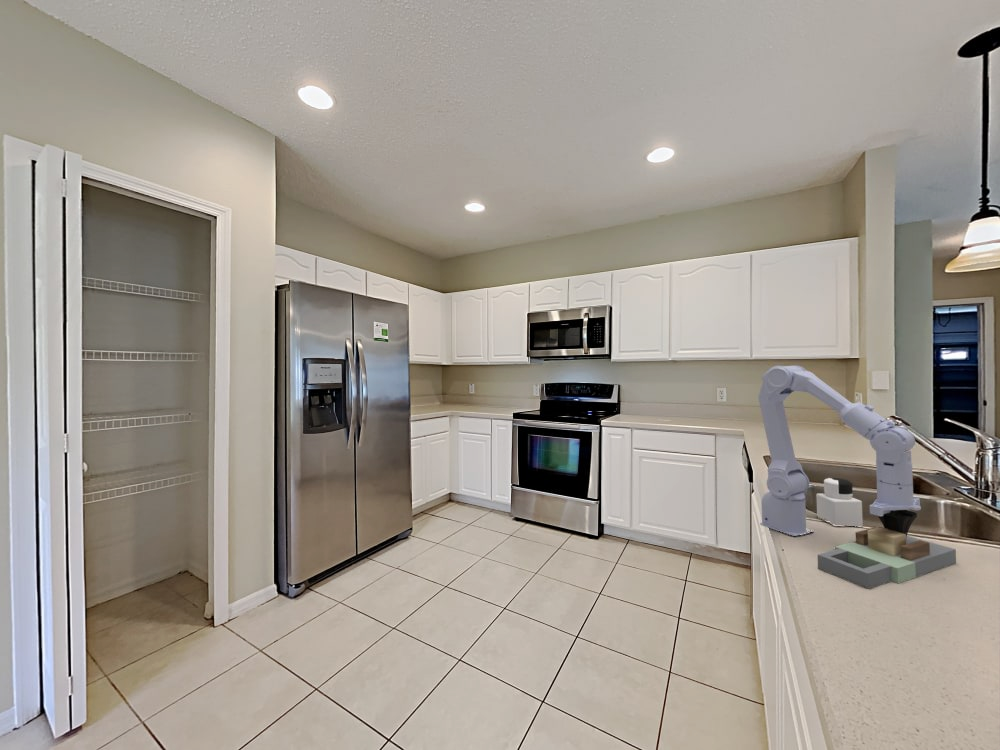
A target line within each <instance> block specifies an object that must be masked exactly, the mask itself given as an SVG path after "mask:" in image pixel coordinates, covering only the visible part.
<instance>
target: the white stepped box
mask: <svg viewBox="0 0 1000 750" xmlns="http://www.w3.org/2000/svg"><path fill="white" fill-rule="evenodd" d="M853 490H854V489H853V483H852V482H851V481H849V480H848V479H844V478H840V477H838V478H837V477H828V478H825V479H823V491H824V493H816V517H817V516H819V517H820V518H823V519H824V518H825V519H827V520H828V521H830V522H831V523H833V524H835V525H847V526H855V527H854V528H857V527H856V526H864V524H863V523H864V521H863V519H864V518H863V501H862V500H860V499H857V498H855V497H853V495H854V494H853V492H854V491H853Z"/></svg>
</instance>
